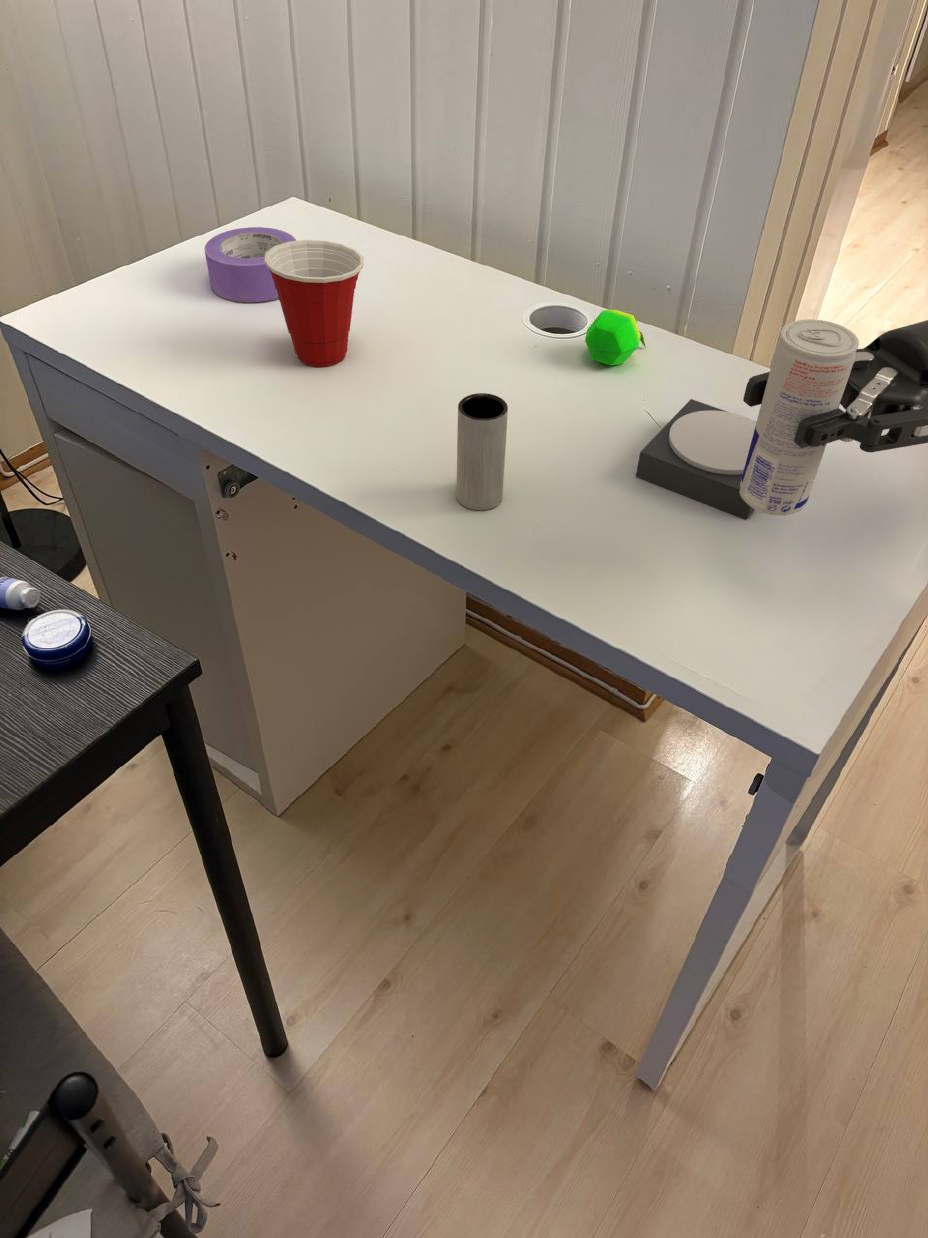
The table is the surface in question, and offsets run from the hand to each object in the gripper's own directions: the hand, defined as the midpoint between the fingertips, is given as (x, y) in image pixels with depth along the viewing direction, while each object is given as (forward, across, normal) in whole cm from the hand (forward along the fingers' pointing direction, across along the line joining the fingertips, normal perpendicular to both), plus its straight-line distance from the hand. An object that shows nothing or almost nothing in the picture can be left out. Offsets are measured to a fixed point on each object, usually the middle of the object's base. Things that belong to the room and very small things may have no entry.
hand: (773, 413), depth 73 cm
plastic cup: (+19, -52, +18) cm, 58 cm away
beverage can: (-3, 0, +9) cm, 10 cm away
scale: (-10, -15, +18) cm, 25 cm away
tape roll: (+21, -73, +18) cm, 78 cm away
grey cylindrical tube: (+15, -20, +18) cm, 31 cm away
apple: (-12, -38, +18) cm, 44 cm away
